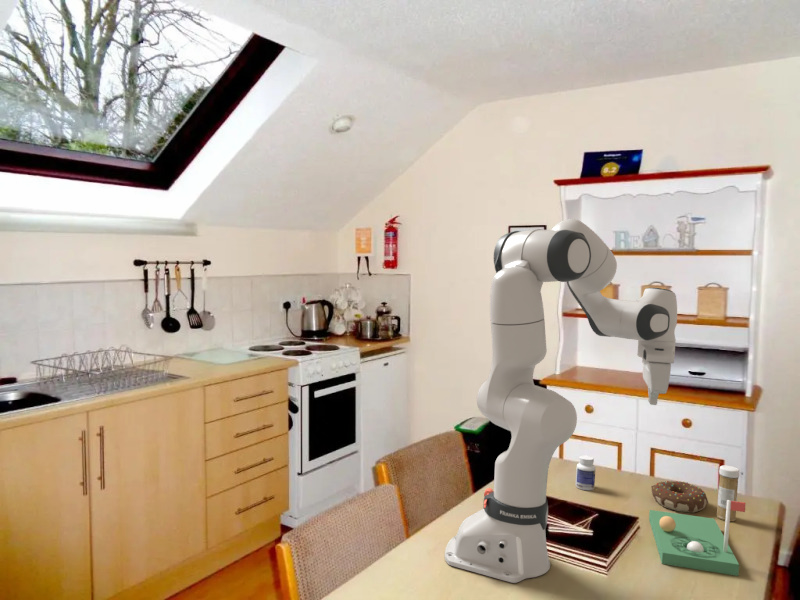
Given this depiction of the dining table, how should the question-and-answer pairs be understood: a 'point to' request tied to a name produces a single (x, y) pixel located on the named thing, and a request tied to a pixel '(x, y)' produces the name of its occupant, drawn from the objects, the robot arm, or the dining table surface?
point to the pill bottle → (585, 473)
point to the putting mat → (698, 530)
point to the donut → (679, 496)
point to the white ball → (695, 547)
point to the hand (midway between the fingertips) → (652, 403)
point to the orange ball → (667, 523)
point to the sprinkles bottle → (727, 490)
